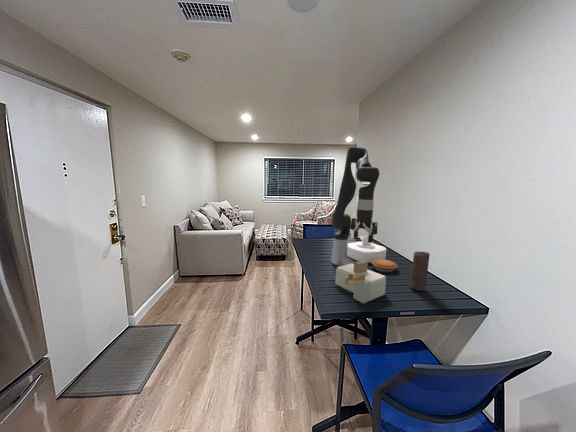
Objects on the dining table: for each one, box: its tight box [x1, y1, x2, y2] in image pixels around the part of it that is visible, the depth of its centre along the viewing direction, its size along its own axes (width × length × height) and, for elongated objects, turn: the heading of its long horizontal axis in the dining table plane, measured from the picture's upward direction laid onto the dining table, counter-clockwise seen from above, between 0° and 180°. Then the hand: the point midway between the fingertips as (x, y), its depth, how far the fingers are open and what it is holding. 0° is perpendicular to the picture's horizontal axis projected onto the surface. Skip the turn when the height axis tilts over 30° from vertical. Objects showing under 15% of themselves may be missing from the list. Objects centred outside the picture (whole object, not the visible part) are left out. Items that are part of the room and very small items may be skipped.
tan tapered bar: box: [345, 273, 365, 286], centre depth 115 cm, size 3×10×4 cm, turn 126°
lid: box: [336, 260, 386, 284], centre depth 129 cm, size 22×11×6 cm, turn 36°
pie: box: [371, 258, 398, 273], centre depth 160 cm, size 15×16×5 cm
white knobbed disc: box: [347, 234, 387, 263], centre depth 184 cm, size 25×25×16 cm
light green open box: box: [334, 269, 387, 305], centre depth 129 cm, size 22×16×10 cm
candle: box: [409, 251, 431, 291], centre depth 131 cm, size 8×7×20 cm
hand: (362, 240), depth 127 cm, fingers open, 8 cm apart
